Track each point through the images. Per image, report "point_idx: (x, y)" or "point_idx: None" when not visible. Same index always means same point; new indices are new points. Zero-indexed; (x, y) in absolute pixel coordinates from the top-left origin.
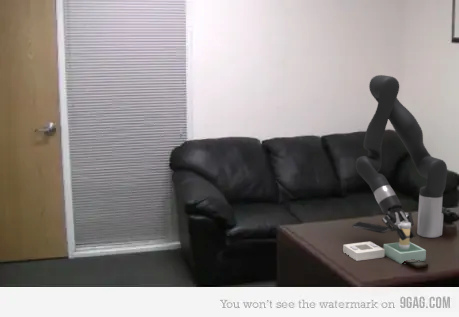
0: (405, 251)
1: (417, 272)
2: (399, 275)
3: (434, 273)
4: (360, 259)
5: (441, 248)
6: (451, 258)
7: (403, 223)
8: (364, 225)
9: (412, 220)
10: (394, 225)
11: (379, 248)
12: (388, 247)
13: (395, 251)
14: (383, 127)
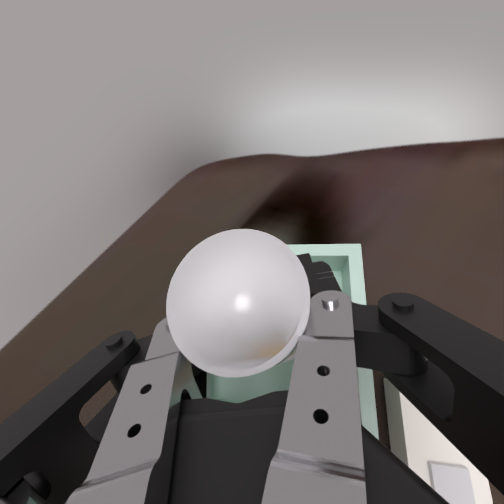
0: (230, 384)
1: (332, 173)
2: (424, 164)
3: (278, 154)
4: None
5: (50, 360)
6: (118, 249)
7: (284, 276)
8: None
9: (61, 381)
10: (420, 319)
11: (427, 421)
12: (371, 378)
13: (363, 296)
14: None
